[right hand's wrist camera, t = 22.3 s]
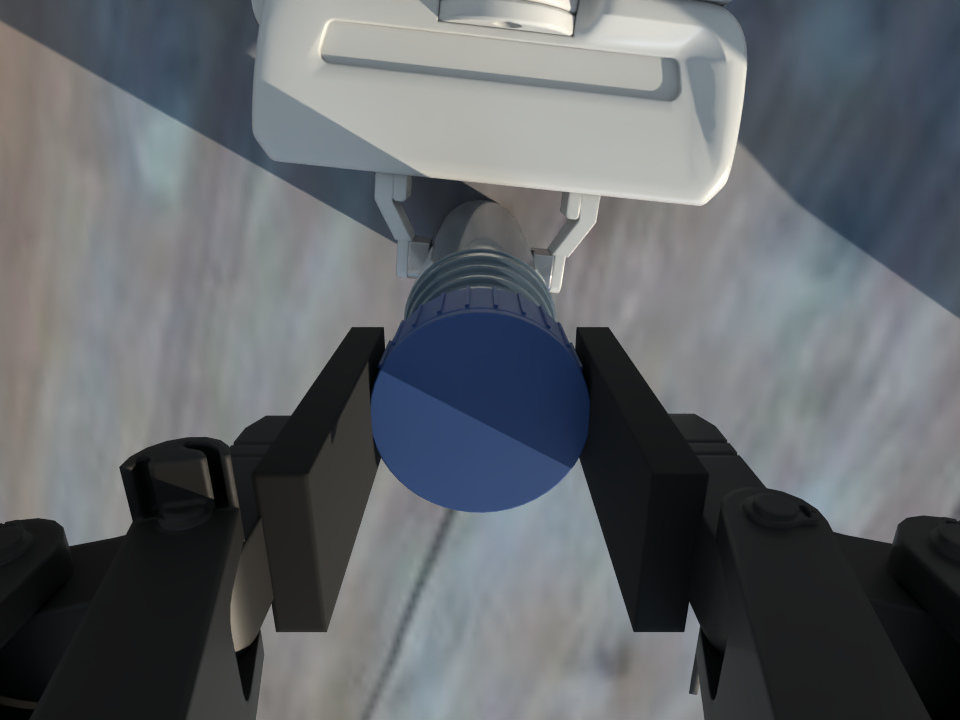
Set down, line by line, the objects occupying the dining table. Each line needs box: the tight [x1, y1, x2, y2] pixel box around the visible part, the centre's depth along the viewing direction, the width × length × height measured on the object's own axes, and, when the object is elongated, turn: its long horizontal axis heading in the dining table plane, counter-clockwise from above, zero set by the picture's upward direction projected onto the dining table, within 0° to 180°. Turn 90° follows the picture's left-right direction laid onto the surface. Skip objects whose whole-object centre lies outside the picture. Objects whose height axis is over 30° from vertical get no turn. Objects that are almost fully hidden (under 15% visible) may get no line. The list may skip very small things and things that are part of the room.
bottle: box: [404, 200, 557, 323], centre depth 23 cm, size 5×5×22 cm
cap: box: [370, 286, 590, 513], centre depth 13 cm, size 5×5×2 cm
